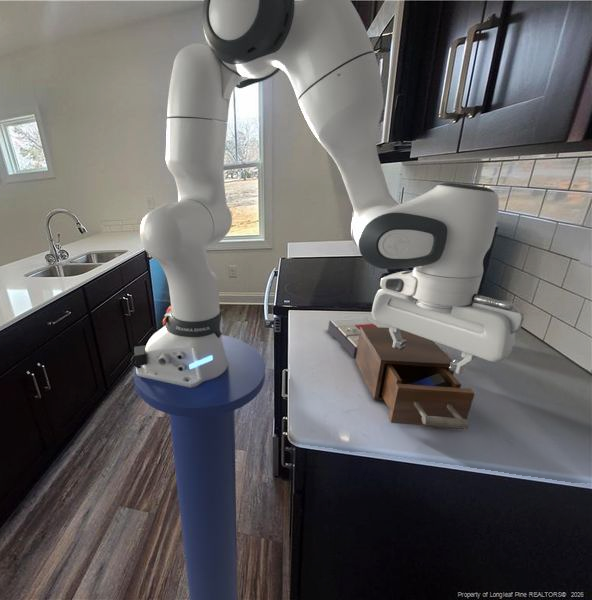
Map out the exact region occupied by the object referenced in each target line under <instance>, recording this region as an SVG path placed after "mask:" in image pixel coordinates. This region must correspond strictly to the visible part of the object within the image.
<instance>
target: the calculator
mask: <svg viewBox="0 0 592 600" xmlns="http://www.w3.org/2000/svg"><path fill="white" fill-rule="evenodd" d="M360 327H378V326H377V325H376V324H374V323H372V322H371V321H370V320H369V319H368V318H366V317H358V318H345V319H344V318H343V319H332V320H329V321H328V328H327V333H328V334H329V335H330V336H331V337H332V338H335V340H336V341H337V342H338V343H339V344H340V345H341V346H342V347H343V349H344V350H345V351H346V352H347V353H348V354H349V355H350V356H351V358H353V359H355V360H356V355H357V348H358V341H359V334H360Z"/></svg>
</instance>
